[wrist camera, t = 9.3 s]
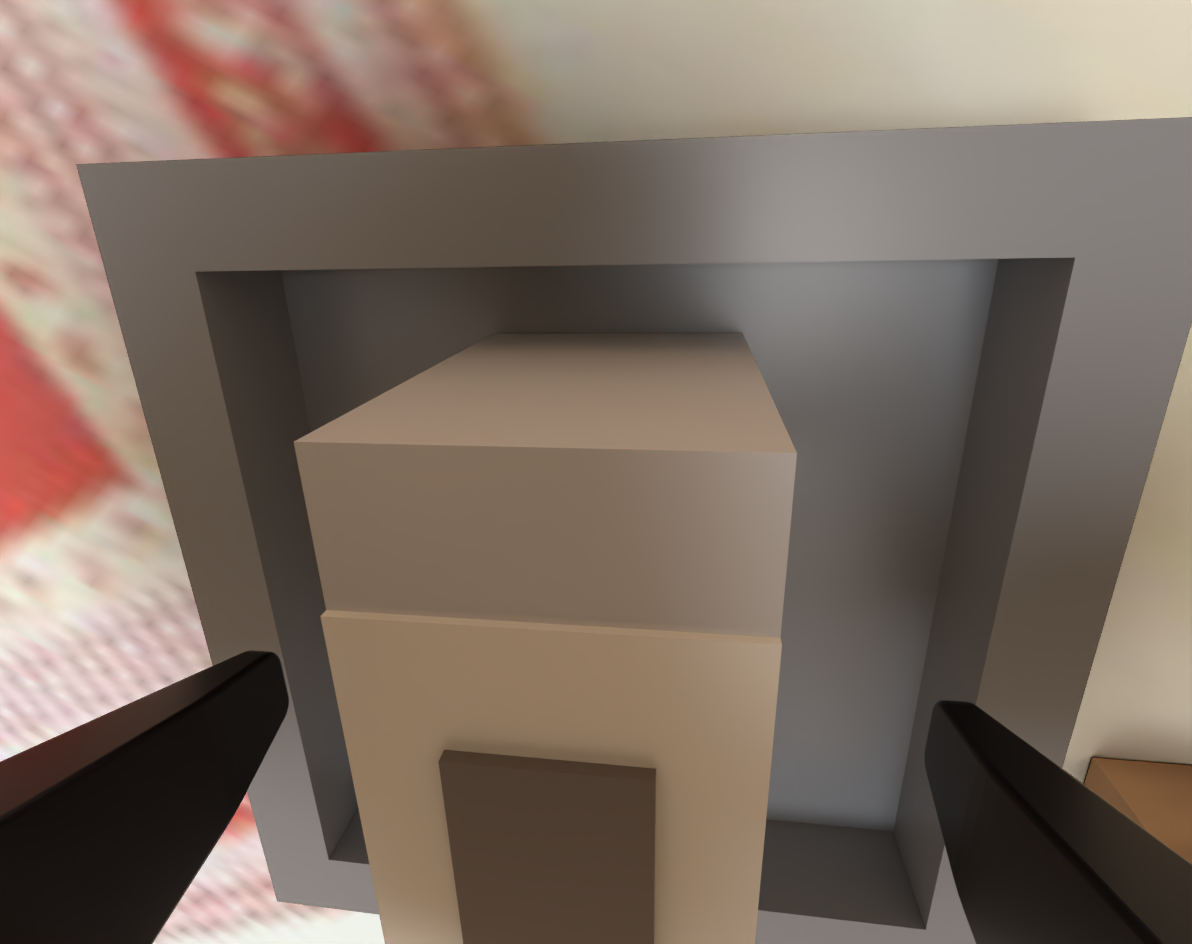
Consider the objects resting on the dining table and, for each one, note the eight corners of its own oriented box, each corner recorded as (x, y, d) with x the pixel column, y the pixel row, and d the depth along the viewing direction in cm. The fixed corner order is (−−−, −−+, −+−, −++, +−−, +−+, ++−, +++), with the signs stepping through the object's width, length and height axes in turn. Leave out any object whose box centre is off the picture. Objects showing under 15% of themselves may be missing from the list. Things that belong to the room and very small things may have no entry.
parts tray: (1090, 146, 10) (1251, 115, 7) (938, 846, 15) (996, 993, 12) (224, 179, 12) (75, 164, 9) (347, 787, 16) (277, 900, 14)
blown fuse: (742, 332, 10) (801, 463, 5) (717, 775, 13) (735, 1180, 8) (495, 332, 11) (276, 451, 5) (528, 758, 14) (413, 1124, 8)
